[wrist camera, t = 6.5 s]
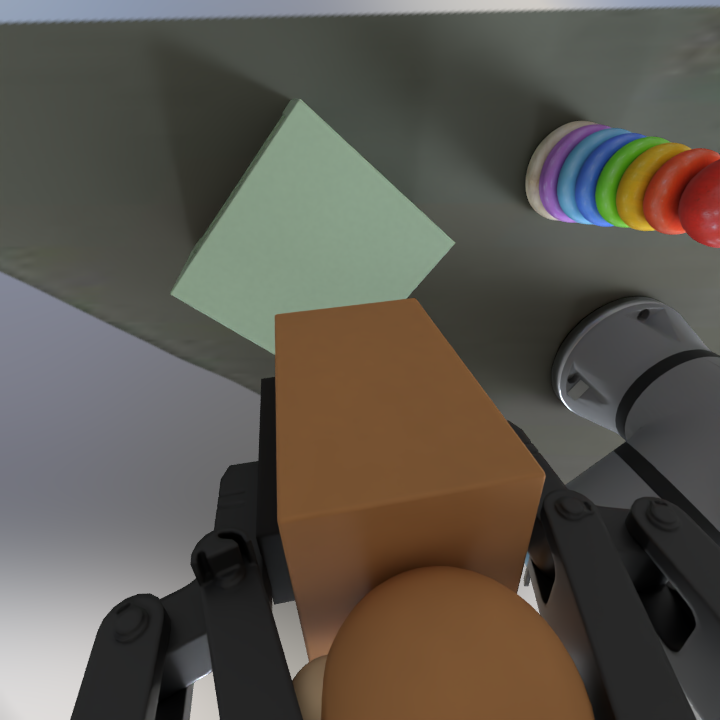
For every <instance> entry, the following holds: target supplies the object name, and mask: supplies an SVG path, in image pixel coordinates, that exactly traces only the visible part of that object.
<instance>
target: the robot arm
mask: <svg viewBox="0 0 720 720" xmlns="http://www.w3.org/2000/svg"><path fill="white" fill-rule="evenodd" d="M551 380H552V386H553V389H554V392H555V394H556V395H557V397H558V398H559V399H560V400H561V401H562V402H563V403H564V404H565V405H566V407H567V408H569V409H570V410H571V411H572V412H574V413H575V414H577V415H579V416H581V417H583V418H586V419H588V420H590V421H592V422H594V423H596V424H599V425H601V426H603V427H605V428H607V429H609V430H612V431H614V432H616V433H618V434H619V435H620V436H621V437H622V438H623V439H625V440H626V442H625V443H623V444H622V445H620V446H619V447H618V448H616V449H615V450H614V451H612V452H611V453H609V454H608V455H607V456H605V457H604V458H602V459H601V460H600V461H598V462H597V463H595V464H594V465H593V466H591V467H590V468H589V469H587V470H586V471H584V472H583V473H582V474H580V475H579V476H577V477H576V478H575V479H573V480H572V481H570V482H569V483H568V484H566V485H564V484H563V482H562V481H561V480H560V478H559V477H558V476H557V474H556V473H555V472H554V471H553V469H552V468H551V467H550V465H549V464H548V463H547V461H546V460H545V459H544V458H543V456H542V455H541V454H540V453H538V450H537V448H536V447H535V446H534V445H533V444H531V441H530V439H529V438H528V437H527V435H526V434H525V433H524V432H523V430H522V429H520V428H519V427H517V426H516V425H514V424H513V423H511V422H510V421H507V422H508V423H509V425H510V426H511V427H512V429H513V430H514V431H515V433H516V434H517V435H518V437H519V438H520V439H521V441H522V442H523V443H524V445H525V446H526V447H527V449H528V450H529V451H530V453H531V454H532V456H533V457H534V458H535V460H536V461H537V462H538V464H539V465H540V466H541V468H542V469H543V470H544V472H545V475H546V477H545V481H544V485H543V490H542V494H541V498H540V502H539V506H538V510H537V514H536V518H535V522H534V526H533V530H532V534H531V538H530V542H529V546H528V550H527V554H526V559H525V564H526V567H527V568H526V571H525V576H524V586H528V585H529V582H530V578H531V582H532V585H533V589H534V593H535V597H536V601H537V604H538V608H539V612H540V615H541V616H542V617H543V618H544V619H545V620H546V622H547V623H548V624H549V626H550V627H551V628H552V629H553V631H554V632H555V633H556V635H557V636H558V637H559V639H560V640H561V642H562V643H563V645H564V647H565V648H566V650H567V652H568V653H569V655H570V657H571V658H572V660H573V661H574V663H575V666H576V668H577V670H578V672H579V674H580V676H581V678H582V680H583V682H584V685H585V688H586V691H587V694H588V697H589V699H590V702H591V705H592V709H593V713H594V717H595V720H720V356H719V355H717V354H715V353H713V352H712V351H710V350H709V349H708V348H707V347H706V345H705V344H704V343H703V342H702V341H701V339H700V338H699V337H698V336H697V334H696V333H695V332H694V331H693V330H692V328H691V327H690V326H689V325H688V324H687V322H686V321H685V320H684V319H683V317H682V316H681V315H680V314H679V313H678V312H677V311H676V310H675V309H673V308H671V307H670V306H668V305H666V304H664V303H662V302H660V301H658V300H656V299H653V298H649V297H628V298H623V299H620V300H616V301H614V302H611V303H609V304H607V305H605V306H603V307H601V308H599V309H597V310H596V311H594V312H593V313H591V314H590V315H589V316H587V317H586V318H585V319H583V320H582V321H581V322H580V323H579V324H578V325H577V326H576V327H575V328H574V329H573V330H572V331H571V332H570V334H569V335H568V336H567V337H566V339H565V340H564V342H563V343H562V345H561V347H560V348H559V350H558V352H557V355H556V357H555V360H554V363H553V367H552V374H551ZM191 567H192V569H193V571H194V574H195V576H196V579H195V580H194V581H192V582H191V583H190V584H188V585H187V586H185V587H183V588H182V589H180V590H178V591H176V592H174V593H172V594H169V595H167V596H165V597H164V598H161V599H159V598H158V597H156V596H154V595H152V594H137V595H135V596H132V597H129V598H127V599H125V600H123V601H122V602H120V603H119V604H118V605H116V606H115V607H114V608H113V609H112V610H111V611H110V612H109V613H108V614H107V616H106V617H105V618H104V619H103V621H102V624H101V625H100V627H99V629H98V632H97V635H96V638H95V641H94V645H93V648H92V651H91V654H90V658H89V661H88V664H87V667H86V671H85V674H84V678H83V680H82V684H81V687H80V690H79V693H78V697H77V700H76V703H75V706H74V710H73V713H72V716H71V719H70V720H190V711H191V702H192V694H193V685H194V682H196V681H197V680H199V679H201V678H202V677H204V676H206V675H207V674H209V673H211V672H213V676H214V683H215V690H216V696H217V702H218V709H219V716H220V720H303V717H302V714H301V710H300V707H299V704H298V700H297V697H296V693H295V690H294V686H293V683H292V680H291V676H290V672H289V669H288V666H287V663H286V659H285V655H284V652H283V648H282V645H281V641H280V638H279V634H278V631H277V627H276V624H275V621H274V617H273V614H272V598H273V602H274V604H279V603H284V602H289V601H294V600H295V597H294V593H293V588H292V584H291V579H290V575H289V571H288V566H287V562H286V557H285V553H284V549H283V544H282V540H281V535H280V531H279V526H278V522H277V460H276V385H275V377H271V378H264V379H261V406H260V434H259V461H256V462H250V463H243V464H237V465H231V466H229V467H228V469H227V471H226V472H225V474H224V475H223V477H222V479H221V482H220V490H219V497H218V505H217V512H216V519H215V527H214V531H212V532H210V533H208V534H207V535H205V536H204V537H203V538H202V539H201V540H200V541H199V542H198V543H197V545H196V546H195V549H194V550H193V552H192V555H191Z"/></svg>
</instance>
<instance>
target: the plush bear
mask: <svg viewBox="0 0 720 720" xmlns="http://www.w3.org/2000/svg"><path fill="white" fill-rule="evenodd" d="M275 385H276V460H277V522H278V526H279V531H280V535H281V540H282V544H283V549H284V553H285V557H286V562H287V566H288V571H289V575H290V579H291V584H292V588H293V593H294V597H295V602H296V606H297V610H298V615H299V619H300V624H301V628H302V632H303V637H304V641H305V645H306V650H307V655H308V659H309V663H308V664H306V665H305V666H304V667H303V668H302V669H301V670H300V671H299V672H298V673H297V675H296V676H295V677H294V679H293V680H292V683H293V686H294V690H295V693H296V697H297V700H298V704H299V707H300V710H301V714H302V717H303V720H595V717H594V713H593V709H592V705H591V702H590V699H589V697H588V694H587V691H586V688H585V685H584V682H583V680H582V678H581V676H580V674H579V672H578V670H577V668H576V666H575V663H574V661H573V660H572V658H571V657H570V655H569V653H568V652H567V650H566V648H565V647H564V645H563V643H562V642H561V640H560V639H559V637H558V636H557V635H556V633H555V632H554V631H553V629H552V628H551V627H550V626H549V624H548V623H547V622H546V620H545V619H544V618H543V617H542V616H541V615H540V614H539V613H538V612H537V611H536V610H535V609H534V608H533V607H532V606H531V605H530V604H528V603H527V602H526V601H525V600H524V599H522V598H521V597H520V596H519V595H517V591H518V586H519V583H520V578H521V575H522V571H523V567H524V563H525V559H526V554H527V550H528V546H529V542H530V538H531V534H532V530H533V526H534V522H535V518H536V514H537V510H538V506H539V502H540V498H541V494H542V490H543V485H544V481H545V477H546V475H545V472H544V470H543V469H542V468H541V466H540V465H539V464H538V462H537V461H536V460H535V458H534V457H533V456H532V454H531V453H530V451H529V450H528V449H527V447H526V446H525V445H524V443H523V442H522V441H521V439H520V438H519V437H518V435H517V434H516V433H515V431H514V430H513V429H512V427H511V426H510V425H509V423H508V422H507V421H506V419H505V418H504V417H503V415H502V414H501V412H500V411H499V410H498V408H497V407H496V406H495V404H494V403H493V402H492V400H491V399H490V398H489V396H488V395H487V394H486V392H485V391H484V390H483V388H482V387H481V386H480V384H479V383H478V382H477V380H476V379H475V378H474V376H473V375H472V373H471V372H470V371H469V369H468V368H467V367H466V365H465V364H464V363H463V361H462V360H461V359H460V357H459V356H458V355H457V353H456V352H455V351H454V349H453V348H452V347H451V345H450V344H449V343H448V341H447V340H446V339H445V337H444V336H443V334H442V333H441V332H440V330H439V329H438V328H437V326H436V325H435V324H434V322H433V321H432V320H431V318H430V317H429V316H428V314H427V313H426V312H425V310H424V309H423V308H422V306H421V305H420V304H419V302H418V301H417V300H416V298H410V299H401V300H393V301H384V302H376V303H367V304H359V305H350V306H342V307H333V308H325V309H316V310H308V311H299V312H291V313H282V314H276V315H275Z"/></svg>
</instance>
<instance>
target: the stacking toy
mask: <svg viewBox="0 0 720 720" xmlns="http://www.w3.org/2000/svg"><path fill="white" fill-rule="evenodd" d="M525 187H526V194H527V198H528V200H529V203H530V204H531V206H532V207H533V209H534V210H535V211H536V212H537V213H538V214H540V215H541V216H543V217H545V218H548V219H551V220H560V221H563V222H569V223H575V222H578V223H582V224H595V225H598V226H605V227H608V226H617V227H624V228H627V227H631V228H633V229H636V230H641V231H652V230H656V231H658V232H661V233H664V234H669V235H673V234H682V233H687V234H688V235H689V236H690V237H691V238H692V239H694V240H696V241H697V242H699V243H701V244H704V245H707V246H710V247H716V248H720V154H718V153H717V152H715V151H712V150H709V149H702V148H698V149H691V148H689V147H687V146H685V145H683V144H679V143H671V142H669V141H667V140H665V139H663V138H659V137H646V136H644V135H641V134H637V133H631V132H629V131H627V130H624V129H620V128H611V127H608V126H605V125H599V124H596V123H593V122H589V121H575V122H570V123H568V124H565V125H563V126H561V127H559V128H557V129H556V130H554V131H553V132H551V133H550V134H549V135H548V136H547V137H546V138H545V139H544V140H543V141H542V142H541V143H540V144H539V146H538V147H537V148H536V150H535V152H534V154H533V155H532V157H531V160H530V162H529V165H528V169H527V174H526V182H525Z"/></svg>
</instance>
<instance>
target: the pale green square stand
mask: <svg viewBox="0 0 720 720" xmlns="http://www.w3.org/2000/svg"><path fill="white" fill-rule="evenodd" d="M282 114H283V115H282V117H281V118H280V120H279V121H278V123H277V124H276V126H275V127H274V129H273V130H272V132H271V133H270V135H269V136H268V138H267V139H266V141H265V142H264V144H263V145H262V147H261V149H260V150H259V152H258V153H257V155H256V156H255V158H254V159H253V161H252V162H251V164H250V165H249V167H248V168H247V170H246V171H245V173H244V174H243V176H242V177H241V179H240V180H239V182H238V183H237V185H236V186H235V188H234V190H233V191H232V193H231V194H230V196H229V197H228V199H227V200H226V202H225V203H224V205H223V206H222V208H221V209H220V211H219V212H218V214H217V215H216V217H215V218H214V220H213V221H212V223H211V224H210V226H209V227H208V229H207V230H206V232H205V234H204V235H203V237H202V238H200V239H199V240H198V242H197V243H196V245H195V246H194V248H193V250H192V252H191V254H190V255H189V257H188V259H187V261H186V263H185V265H184V267H183V269H182V271H181V273H180V275H179V277H178V279H177V281H176V282H175V285H174V286H173V288H172V290H171V292H170V294H171V295H173V296H174V297H176V298H178V299H179V300H181V301H183V302H185V303H186V304H188V305H190V306H192V307H193V308H195V309H197V310H198V311H200V312H202V313H204V314H205V315H207V316H209V317H210V318H212V319H214V320H216V321H217V322H219V323H221V324H223V325H224V326H226V327H228V328H229V329H231V330H233V331H235V332H236V333H238V334H240V335H242V336H243V337H245V338H247V339H248V340H250V341H252V342H254V343H255V344H257V345H259V346H260V347H262V348H264V349H266V350H267V351H269V352H271V353H273V354H274V355H275V315H276V314H282V313H291V312H299V311H308V310H316V309H325V308H333V307H342V306H350V305H359V304H367V303H376V302H384V301H393V300H401V299H406V298H407V297H408V296H409V295H410V294H411V293H412V291H413V290H414V289H415V288H416V287H417V286H418V285H419V283H420V282H421V281H422V280H423V279H424V278H425V277H426V276H427V274H428V273H429V272H430V271H431V270H432V269H433V268H434V266H435V265H436V264H437V263H438V262H439V261H440V260H441V259H442V257H443V256H444V255H445V254H446V253H447V252H448V251H449V249H450V248H451V247H452V246H453V245H454V244H455V242H454V241H453V240H452V239H451V238H450V237H448V236H447V235H446V234H445V233H444V232H443V231H442V230H441V229H440V228H439V227H438V226H437V225H436V224H434V223H433V222H432V221H431V220H430V219H429V218H428V217H427V216H426V215H425V214H424V213H423V212H422V211H420V210H419V209H418V208H417V207H416V206H415V205H414V204H413V203H412V202H411V201H410V200H409V199H408V198H407V197H405V196H404V195H403V194H402V193H401V192H400V191H399V190H398V189H397V188H396V187H395V186H394V185H393V184H391V183H390V182H389V181H388V180H387V179H386V178H385V177H384V176H383V175H382V174H381V173H380V172H379V171H377V170H376V169H375V168H374V167H373V166H372V165H371V164H370V163H369V162H368V161H367V160H366V159H365V158H363V157H362V156H361V155H360V154H359V153H358V152H357V151H356V150H355V149H354V148H353V147H352V146H351V145H349V144H348V143H347V142H346V141H345V140H344V139H343V138H342V137H341V136H340V135H339V134H338V133H337V132H335V131H334V130H333V129H332V128H331V127H330V126H329V125H328V124H327V123H326V122H325V121H324V120H323V119H321V118H320V117H319V116H318V115H317V114H316V113H315V112H314V111H313V110H312V109H311V108H310V107H309V106H308V105H306V104H305V103H304V102H303V101H302V100H301V99H291V100H290V102H289V103H288V105H287V106H286V108H285V109H284V111H283V113H282Z"/></svg>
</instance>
